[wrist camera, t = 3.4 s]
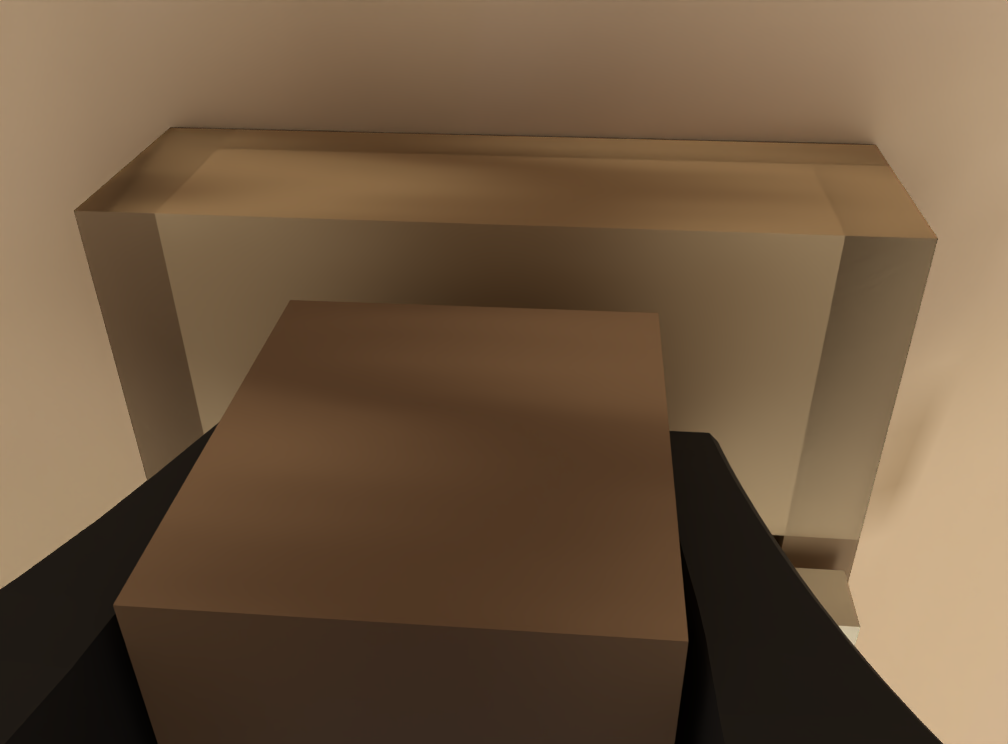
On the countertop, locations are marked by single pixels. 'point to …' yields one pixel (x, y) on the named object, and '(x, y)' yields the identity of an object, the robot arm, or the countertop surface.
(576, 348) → the block
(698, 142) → the brown divided tray
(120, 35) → the countertop surface
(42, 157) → the countertop surface
